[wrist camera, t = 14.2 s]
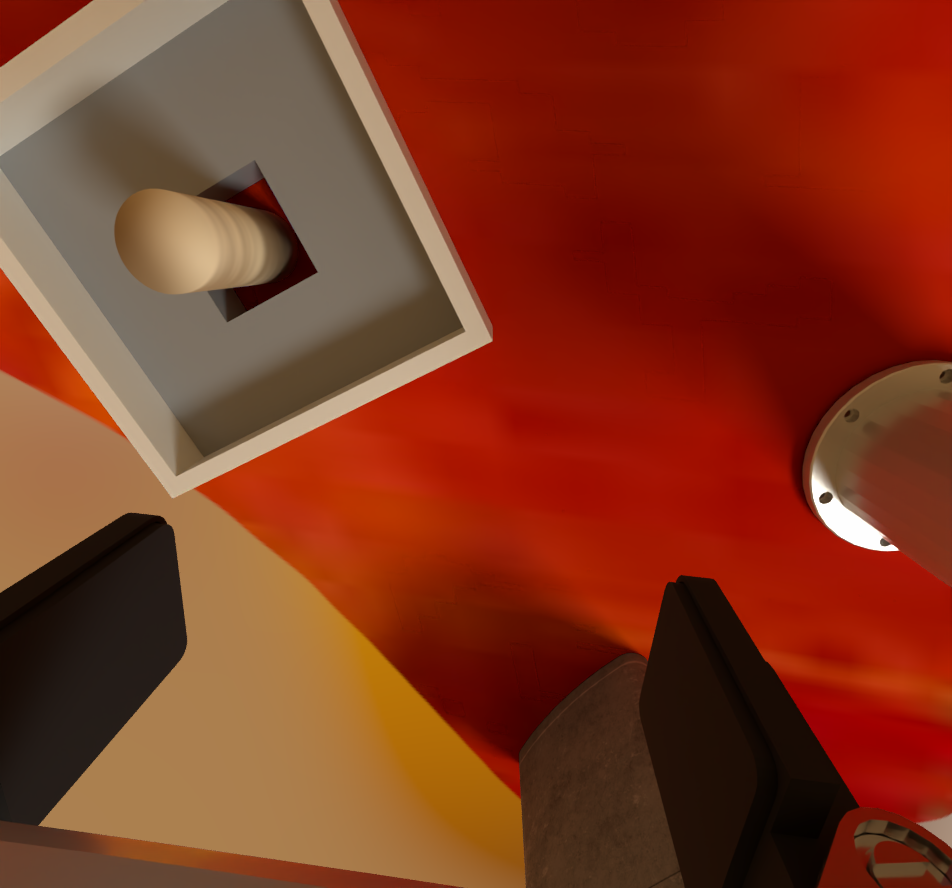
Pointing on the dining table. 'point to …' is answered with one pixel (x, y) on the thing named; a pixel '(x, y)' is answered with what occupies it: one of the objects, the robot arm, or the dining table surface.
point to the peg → (201, 243)
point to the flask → (595, 791)
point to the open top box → (219, 178)
